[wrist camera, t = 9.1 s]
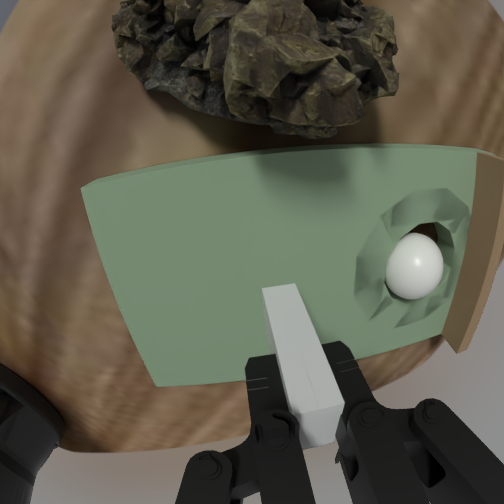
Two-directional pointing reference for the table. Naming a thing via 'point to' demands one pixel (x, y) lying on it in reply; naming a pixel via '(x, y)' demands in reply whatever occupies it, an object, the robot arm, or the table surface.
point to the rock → (263, 58)
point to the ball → (414, 267)
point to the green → (293, 249)
